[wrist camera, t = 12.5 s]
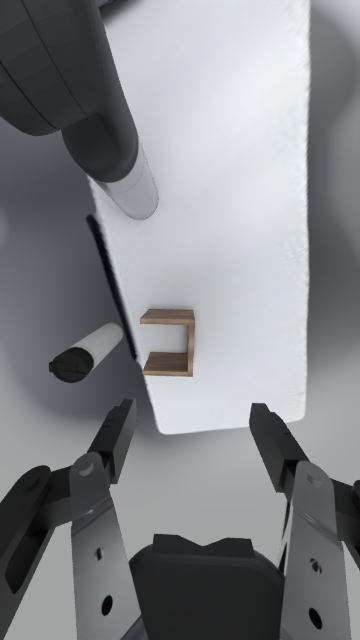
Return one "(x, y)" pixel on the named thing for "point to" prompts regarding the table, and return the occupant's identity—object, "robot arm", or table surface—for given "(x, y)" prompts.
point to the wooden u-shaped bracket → (171, 361)
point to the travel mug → (86, 353)
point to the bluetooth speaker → (104, 2)
